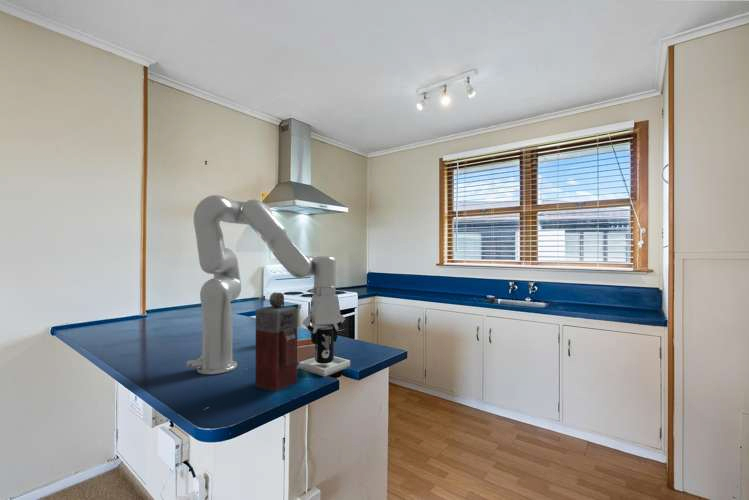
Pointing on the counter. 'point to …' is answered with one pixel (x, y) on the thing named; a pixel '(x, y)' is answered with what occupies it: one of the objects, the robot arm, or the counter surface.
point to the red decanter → (276, 345)
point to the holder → (305, 350)
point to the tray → (324, 366)
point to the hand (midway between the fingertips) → (324, 342)
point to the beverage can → (324, 344)
